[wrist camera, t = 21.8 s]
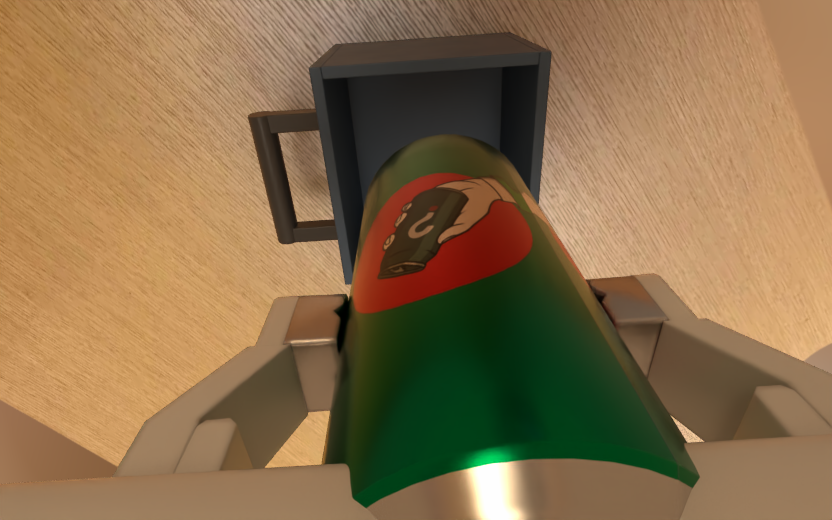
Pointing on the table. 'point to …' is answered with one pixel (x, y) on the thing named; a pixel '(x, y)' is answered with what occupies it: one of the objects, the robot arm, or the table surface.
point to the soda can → (488, 361)
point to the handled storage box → (405, 118)
